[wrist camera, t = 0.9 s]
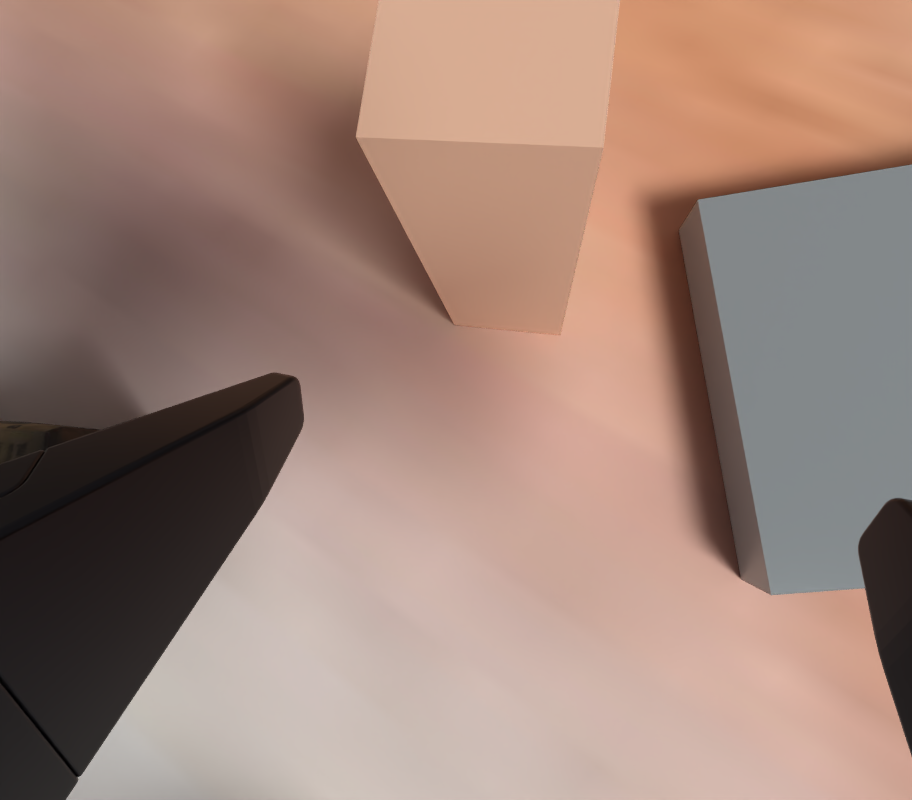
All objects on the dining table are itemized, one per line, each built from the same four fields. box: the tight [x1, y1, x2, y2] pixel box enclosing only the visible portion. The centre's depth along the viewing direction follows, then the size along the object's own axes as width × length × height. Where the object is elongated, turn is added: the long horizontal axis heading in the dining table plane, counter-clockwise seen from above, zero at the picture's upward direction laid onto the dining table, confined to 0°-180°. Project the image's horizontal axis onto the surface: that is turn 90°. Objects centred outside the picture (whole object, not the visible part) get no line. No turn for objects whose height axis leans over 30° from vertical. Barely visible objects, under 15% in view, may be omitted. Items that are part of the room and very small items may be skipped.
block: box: [356, 0, 620, 335], centre depth 16 cm, size 4×4×13 cm
